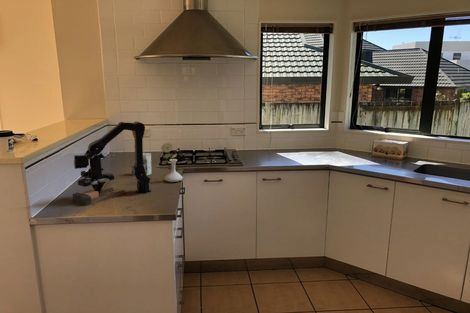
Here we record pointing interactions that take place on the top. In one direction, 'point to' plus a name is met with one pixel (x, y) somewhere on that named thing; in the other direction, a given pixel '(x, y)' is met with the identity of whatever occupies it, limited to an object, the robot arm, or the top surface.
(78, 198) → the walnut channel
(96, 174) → the robot arm
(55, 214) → the top surface
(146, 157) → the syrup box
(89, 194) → the block
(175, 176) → the flower in vase
